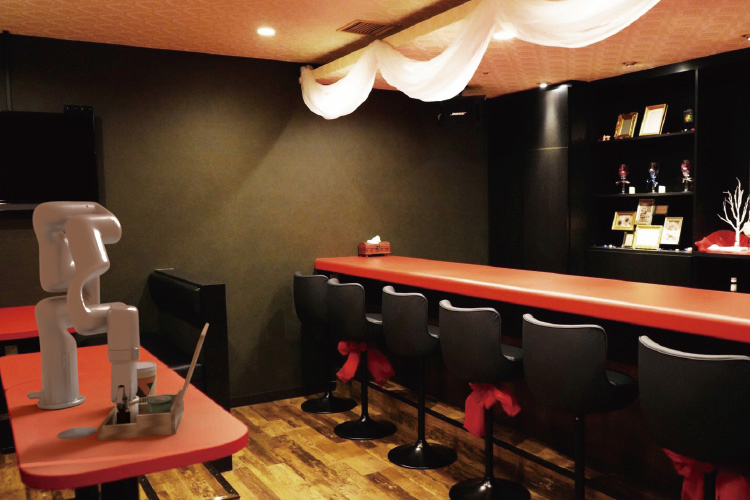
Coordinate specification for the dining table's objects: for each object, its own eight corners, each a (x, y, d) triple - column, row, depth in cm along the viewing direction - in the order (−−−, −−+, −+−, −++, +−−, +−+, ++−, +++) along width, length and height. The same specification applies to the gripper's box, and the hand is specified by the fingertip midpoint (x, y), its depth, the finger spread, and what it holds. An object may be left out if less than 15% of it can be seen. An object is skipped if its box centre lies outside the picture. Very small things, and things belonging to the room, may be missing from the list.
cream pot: (111, 431, 158) (110, 403, 158) (117, 423, 164) (116, 396, 164) (137, 429, 159) (136, 401, 159) (142, 421, 165) (141, 394, 165)
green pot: (146, 426, 161) (145, 402, 160) (150, 419, 166) (149, 396, 166) (170, 425, 162) (169, 400, 161) (173, 418, 167) (172, 394, 167)
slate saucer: (52, 443, 152) (52, 440, 152) (63, 431, 161) (63, 428, 161) (92, 440, 154) (91, 437, 154) (100, 428, 163) (100, 425, 163)
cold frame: (98, 443, 152) (96, 414, 152) (114, 419, 170) (113, 394, 169) (175, 437, 155) (174, 409, 155) (184, 414, 173) (183, 389, 173)
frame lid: (200, 335, 155) (203, 335, 155) (206, 322, 173) (209, 323, 173) (175, 408, 155) (179, 409, 155) (184, 388, 173) (187, 389, 173)
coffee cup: (125, 413, 175) (124, 370, 174) (122, 404, 183) (120, 364, 183) (161, 408, 179) (159, 366, 179) (156, 399, 188) (154, 359, 187)
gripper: (116, 348, 168) (119, 413, 169) (100, 363, 151) (103, 435, 152) (145, 346, 170) (148, 411, 171) (133, 361, 153) (136, 432, 154)
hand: (127, 422), depth 162 cm, fingers open, 7 cm apart
